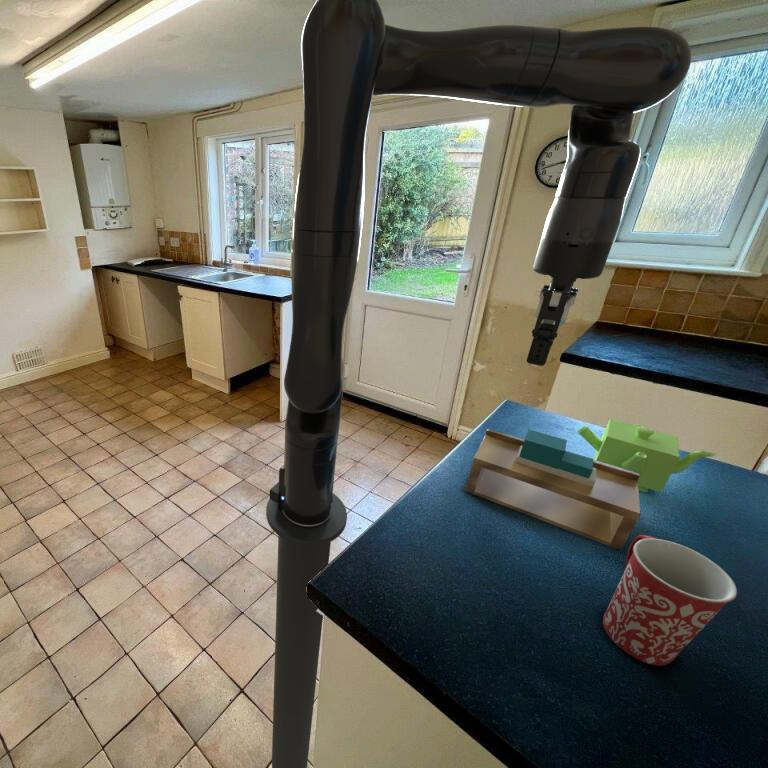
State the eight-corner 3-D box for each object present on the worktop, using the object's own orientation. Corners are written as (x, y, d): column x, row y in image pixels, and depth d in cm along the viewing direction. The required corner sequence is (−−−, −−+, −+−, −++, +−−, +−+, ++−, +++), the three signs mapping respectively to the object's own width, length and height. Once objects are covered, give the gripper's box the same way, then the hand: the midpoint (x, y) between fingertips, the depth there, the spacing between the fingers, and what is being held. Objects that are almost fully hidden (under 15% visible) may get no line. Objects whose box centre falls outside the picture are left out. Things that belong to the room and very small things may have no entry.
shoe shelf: (464, 491, 81) (475, 453, 77) (477, 464, 89) (487, 428, 85) (621, 550, 68) (643, 508, 64) (620, 512, 76) (639, 473, 72)
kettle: (693, 497, 79) (721, 449, 74) (626, 504, 78) (650, 455, 73) (622, 452, 93) (642, 408, 88) (564, 456, 91) (581, 412, 86)
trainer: (515, 462, 76) (522, 439, 74) (519, 450, 80) (526, 428, 77) (593, 487, 70) (603, 463, 68) (593, 473, 73) (604, 450, 71)
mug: (698, 687, 49) (757, 613, 44) (606, 657, 53) (649, 584, 47) (655, 599, 60) (698, 530, 54) (580, 578, 63) (613, 511, 57)
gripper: (548, 230, 60) (517, 336, 67) (535, 239, 50) (500, 364, 57) (614, 233, 56) (573, 346, 63) (614, 244, 45) (566, 378, 53)
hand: (539, 354), depth 60 cm, fingers open, 8 cm apart
